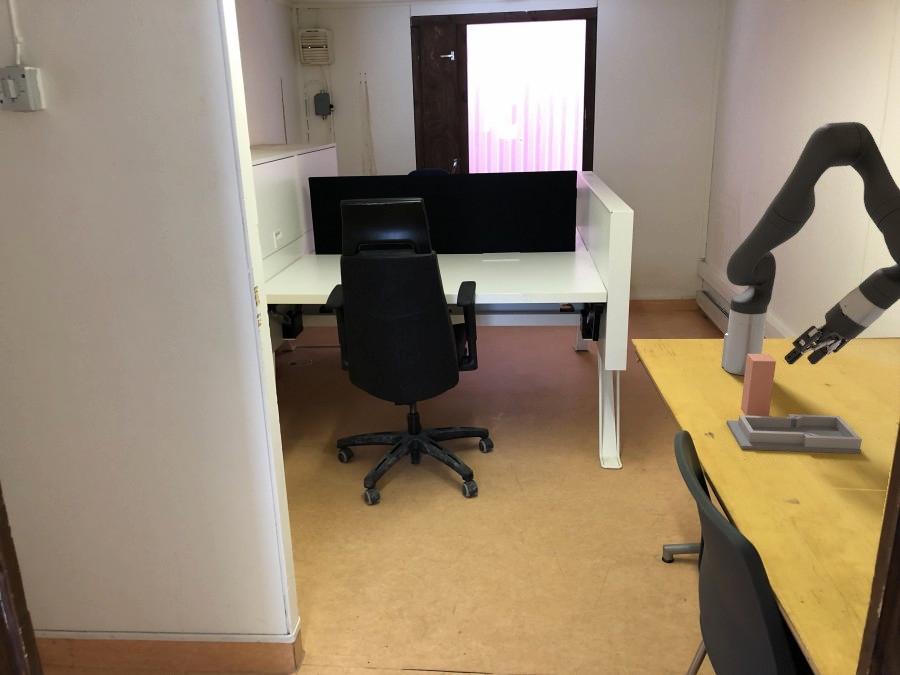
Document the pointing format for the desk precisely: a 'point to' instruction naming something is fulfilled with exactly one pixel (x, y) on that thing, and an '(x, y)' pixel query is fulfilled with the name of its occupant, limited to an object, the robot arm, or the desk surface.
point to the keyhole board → (795, 433)
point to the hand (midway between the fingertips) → (798, 361)
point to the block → (758, 384)
